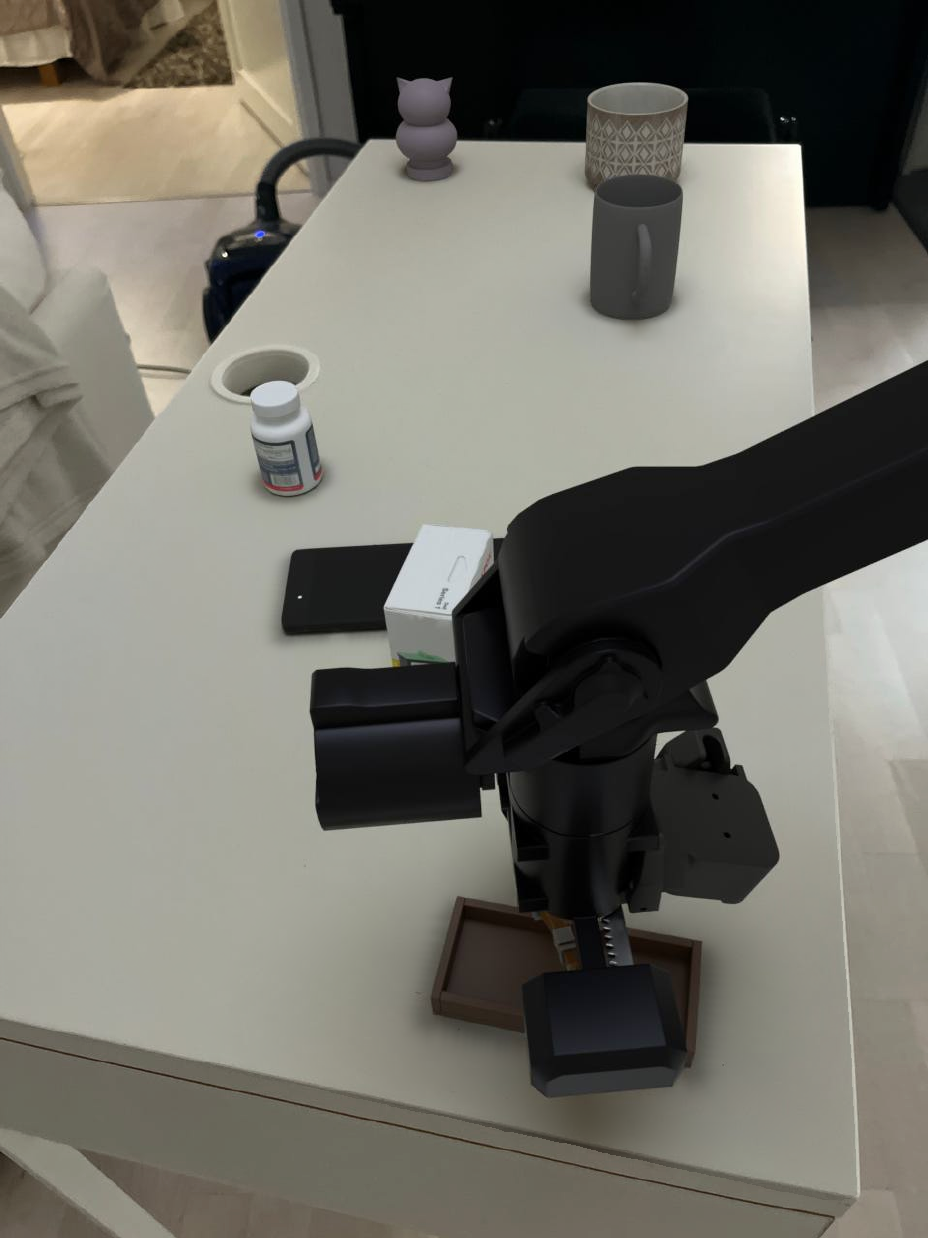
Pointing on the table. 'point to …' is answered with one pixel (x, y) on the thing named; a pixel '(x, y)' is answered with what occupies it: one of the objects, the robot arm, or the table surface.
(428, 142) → the cat figurine
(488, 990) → the walnut tray
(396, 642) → the ink box
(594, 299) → the mug
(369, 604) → the cell phone
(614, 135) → the planter
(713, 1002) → the table surface
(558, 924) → the wooden post with brackets
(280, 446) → the pill bottle
